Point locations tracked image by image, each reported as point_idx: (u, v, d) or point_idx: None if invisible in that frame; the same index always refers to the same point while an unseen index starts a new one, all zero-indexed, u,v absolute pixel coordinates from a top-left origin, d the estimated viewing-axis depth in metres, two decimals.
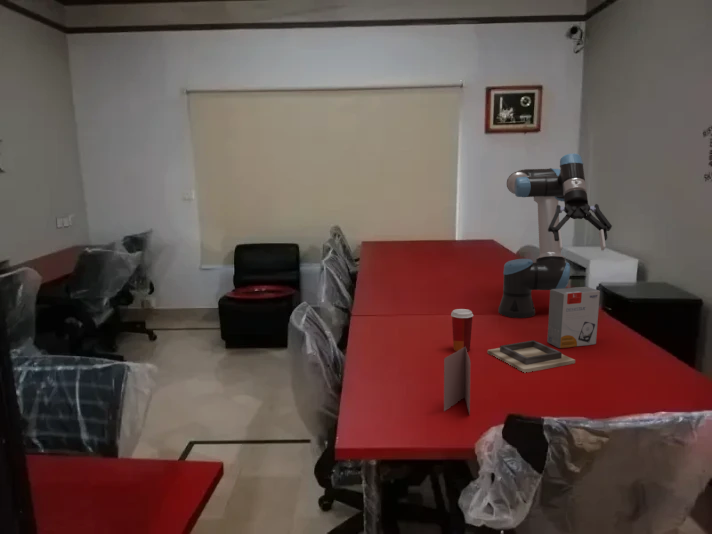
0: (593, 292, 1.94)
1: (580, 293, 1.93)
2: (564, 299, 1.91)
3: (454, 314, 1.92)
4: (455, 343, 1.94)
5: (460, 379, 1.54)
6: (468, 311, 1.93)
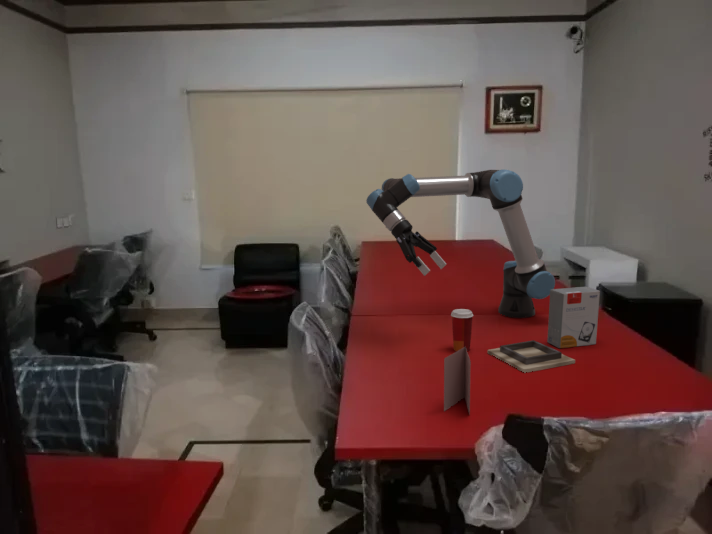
0: (593, 292, 1.94)
1: (580, 293, 1.93)
2: (564, 299, 1.91)
3: (454, 314, 1.92)
4: (455, 343, 1.94)
5: (460, 379, 1.54)
6: (468, 311, 1.93)
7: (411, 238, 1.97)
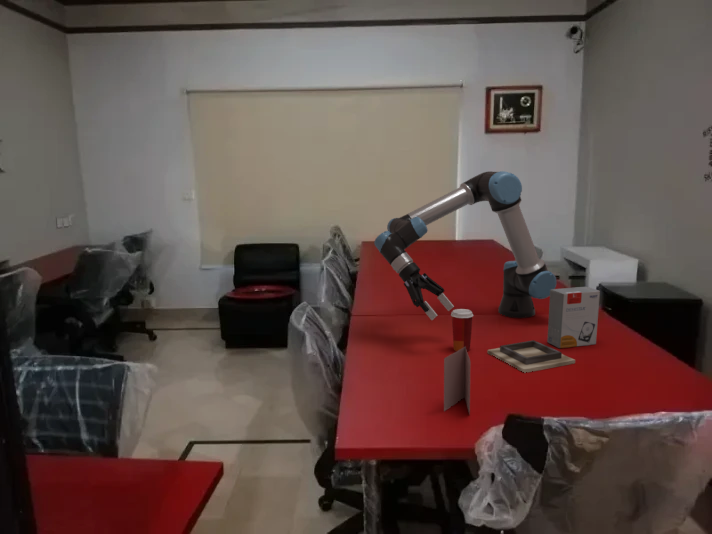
0: (593, 292, 1.94)
1: (580, 293, 1.93)
2: (564, 299, 1.91)
3: (454, 314, 1.92)
4: (455, 343, 1.94)
5: (460, 379, 1.54)
6: (468, 311, 1.93)
7: (419, 281, 1.98)
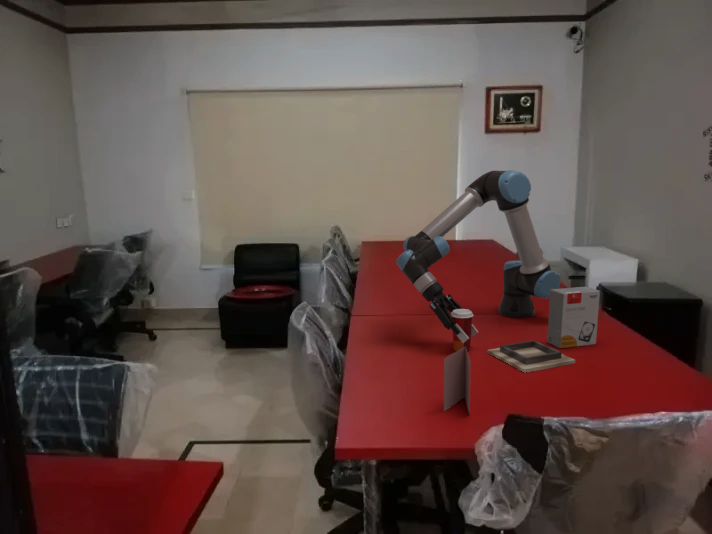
0: (593, 292, 1.94)
1: (580, 293, 1.93)
2: (564, 299, 1.91)
3: (454, 314, 1.92)
4: (455, 343, 1.94)
5: (460, 379, 1.54)
6: (468, 311, 1.93)
7: (443, 302, 1.95)
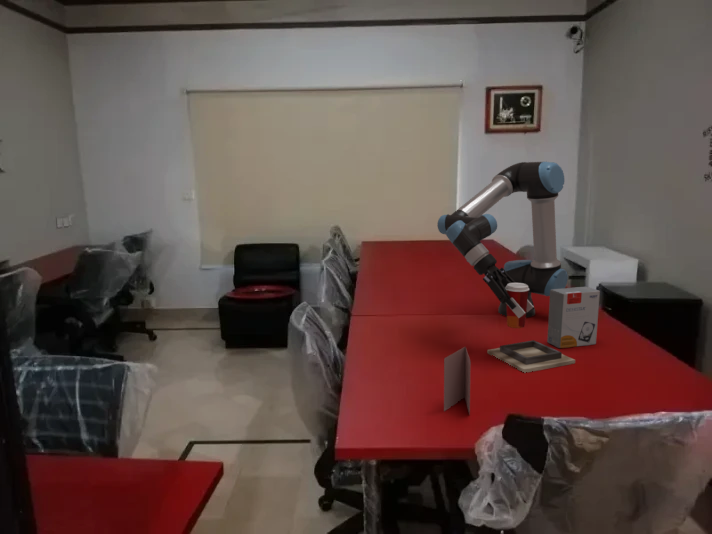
0: (593, 292, 1.94)
1: (580, 293, 1.93)
2: (564, 299, 1.91)
3: (509, 288, 1.81)
4: (509, 318, 1.83)
5: (460, 379, 1.54)
6: (524, 285, 1.82)
7: (497, 275, 1.84)
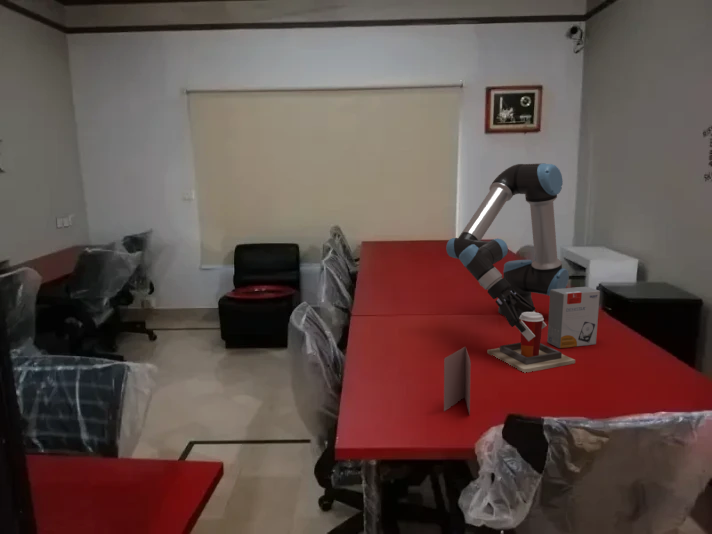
0: (593, 292, 1.94)
1: (580, 293, 1.93)
2: (564, 299, 1.91)
3: (524, 317, 1.82)
4: (524, 348, 1.84)
5: (460, 379, 1.54)
6: (538, 314, 1.83)
7: (511, 299, 1.84)
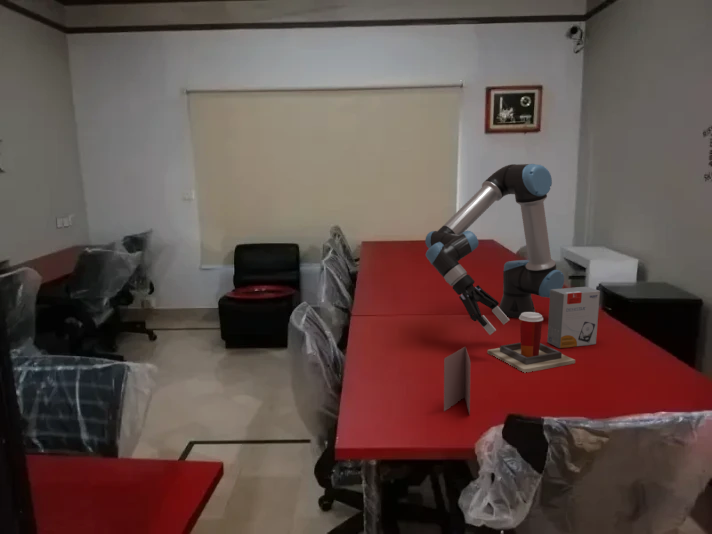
0: (593, 292, 1.94)
1: (580, 293, 1.93)
2: (564, 299, 1.91)
3: (523, 317, 1.82)
4: (523, 348, 1.84)
5: (460, 379, 1.54)
6: (537, 314, 1.83)
7: (474, 294, 1.91)
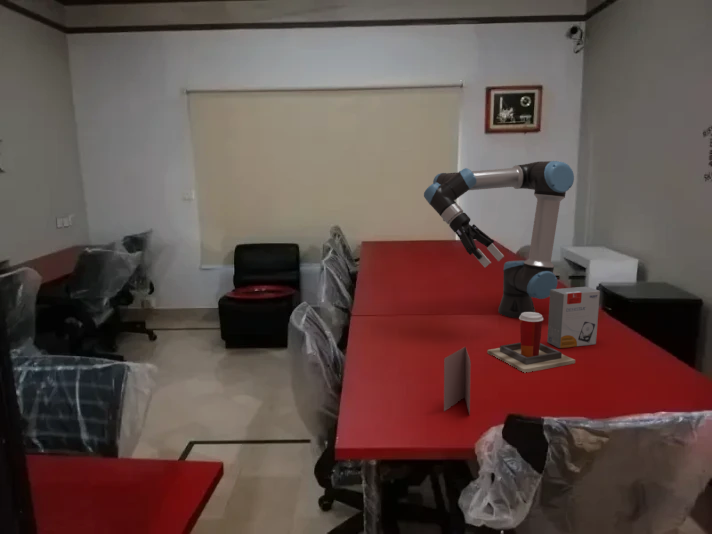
0: (593, 292, 1.94)
1: (580, 293, 1.93)
2: (564, 299, 1.91)
3: (523, 317, 1.82)
4: (523, 348, 1.84)
5: (460, 379, 1.54)
6: (538, 314, 1.83)
7: (470, 231, 2.00)
